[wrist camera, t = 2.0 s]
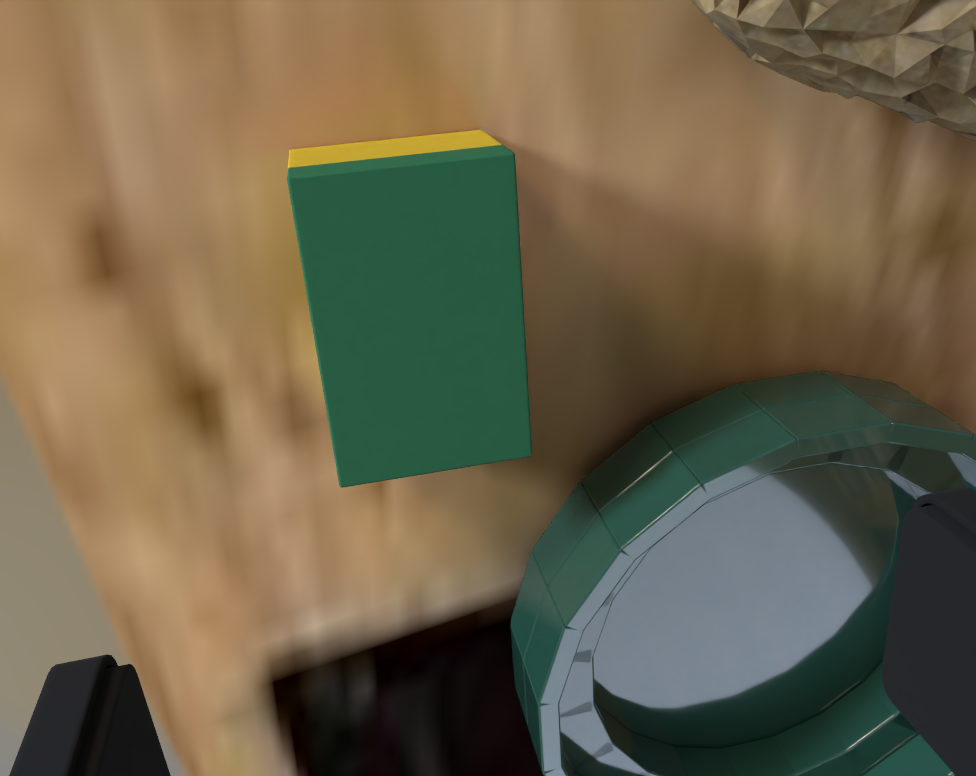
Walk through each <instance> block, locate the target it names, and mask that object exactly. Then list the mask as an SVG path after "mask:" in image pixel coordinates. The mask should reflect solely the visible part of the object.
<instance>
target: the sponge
mask: <svg viewBox="0 0 976 776" xmlns="http://www.w3.org/2000/svg"><path fill="white" fill-rule="evenodd" d="M692 2H693V3H694V4H695V5H696V6H697V7H698V8H699V9H700V11H701V12H702V13H703V14H704V15H705V16H706V17H707V18H708V19H709V20H710V21H711V22H712V23H713V25H714V26H715V27H716V28H717V29H718V30H719V32H720V33H721V34H723V35H724V36H725V37H726V38H727V39H728V40H729V41H731V42H732V43H733V44H734V45H735V46H736V47H738V48H739V49H740V50H741V51H742V52H743V53H744V54H746V55H747V56H748V57H749V58H750V59H752V60H754V61H756V62H758V63H760V64H762V65H764V66H766V67H768V68H770V69H772V70H774V71H776V72H778V73H780V74H782V75H784V76H787V77H789V78H791V79H794V80H796V81H798V82H801V83H803V84H806V85H808V86H810V87H813V88H815V89H817V90H820V91H824V92H833V93H837V94H839V95H841V96H843V97H845V98H846V99H850V98H852V97H854V96H860V97H863V98H865V99H867V100H870V101H872V102H875V103H877V104H879V105H882V106H884V107H887V108H889V109H892V110H894V111H896V112H899V113H901V114H902V115H904V116H906V117H907V118H909V119H911V120H912V121H914V122H916V123H919V122H923V121H927V120H929V121H931V122H933V123H936V124H938V125H940V126H943V127H945V128H947V129H950V130H952V131H954V132H956V133H958V134H960V135H962V136H964V137H966V138H968V139H970V140H974V141H976V0H692Z"/></svg>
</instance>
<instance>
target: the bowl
mask: <svg viewBox="0 0 976 776" xmlns="http://www.w3.org/2000/svg"><path fill="white" fill-rule="evenodd" d="M961 487H963V488H970V489H972V490H974V491H976V435H975V434H974V433H972V432H971V431H969V430H967V429H966V428H964V427H963V426H961V425H960V424H958V423H956V422H955V421H953V420H952V419H950V418H949V417H947V416H945V415H944V414H942V413H941V412H939V411H937V410H936V409H934V408H933V407H931V406H930V405H928V404H926V403H925V402H923V401H922V400H920V399H918V398H917V397H915V396H914V395H912V394H910V393H909V392H907V391H906V390H904V389H903V388H901V387H899V386H898V385H896V384H894V383H890V382H884V381H879V380H873V379H867V378H861V377H855V376H849V375H843V374H837V373H832V372H826V371H819V372H818V371H813V372H807V373H800V374H794V375H788V376H781V377H775V378H769V379H762V380H756V381H750V382H743V383H737V384H735V385H730V386H728V387H726V388H723V389H721V390H719V391H717V392H715V393H713V394H710V395H708V396H706V397H704V398H702V399H700V400H698V401H695V402H693V403H691V404H689V405H687V406H685V407H682V408H680V409H678V410H676V411H674V412H672V413H670V414H667V415H665V416H663V417H661V418H659V419H657V420H654V421H653V422H652V424H648V425H647V426H646V427H645V428H643V429H642V430H641V431H640V432H639V433H637V434H636V435H635V436H634V437H633V438H631V439H630V440H629V441H628V442H627V443H625V444H624V445H623V446H622V447H621V448H619V449H618V450H617V451H616V452H615V453H613V454H612V455H611V456H610V457H609V458H607V459H606V460H605V461H604V462H603V463H601V464H600V465H599V466H598V467H597V468H595V469H594V470H593V471H592V472H591V473H589V474H588V475H587V476H586V477H585V478H583V479H582V482H579V483H578V485H577V486H576V488H575V489H574V491H573V492H572V493H571V495H570V496H569V498H568V499H567V501H566V502H565V504H564V505H563V506H562V508H561V509H560V511H559V512H558V514H557V515H556V517H555V518H554V520H553V521H552V522H551V524H550V525H549V527H548V528H547V530H546V531H545V533H544V534H543V535H542V537H541V538H540V540H539V541H538V543H537V544H536V546H535V547H534V549H533V551H532V552H531V555H530V558H529V562H528V565H527V568H526V571H525V575H524V578H523V581H522V585H521V588H520V591H519V595H518V598H517V601H516V605H515V608H514V611H513V615H512V618H511V639H512V652H513V665H514V678H515V687H516V690H517V694H518V697H519V700H520V703H521V706H522V709H523V713H524V716H525V719H526V722H527V725H528V729H529V732H530V735H531V738H532V741H533V745H534V748H535V751H536V754H537V757H538V761H539V764H540V767H541V770H542V773H543V775H544V776H955V774H954V773H953V772H952V771H951V770H950V769H949V767H948V766H947V765H946V764H945V763H944V762H943V761H942V759H941V758H940V757H939V756H938V755H937V754H936V753H935V751H934V750H933V749H932V748H931V747H930V746H929V745H928V743H927V742H926V741H925V740H924V739H923V738H922V737H921V735H920V734H919V733H918V732H917V731H916V730H915V728H914V727H913V726H912V725H911V724H910V723H909V722H908V720H907V719H906V718H905V717H904V716H903V715H902V714H901V712H900V711H899V710H898V709H897V708H896V707H895V706H894V704H893V703H892V702H891V700H890V699H889V697H888V695H887V693H886V691H885V689H884V686H883V682H882V677H881V675H882V664H883V657H884V650H885V643H886V636H887V630H888V623H889V616H890V609H891V602H892V595H893V588H894V581H895V574H896V567H897V560H898V553H899V546H900V540H901V533H902V526H903V520H904V516H905V514H906V513H907V512H908V511H909V510H911V509H912V508H913V504H914V502H915V501H916V500H917V498H918V497H920V496H922V495H925V494H930V493H935V492H940V491H946V490H951V489H956V488H961Z"/></svg>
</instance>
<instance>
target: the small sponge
mask: <svg viewBox="0 0 976 776" xmlns="http://www.w3.org/2000/svg"><path fill="white" fill-rule="evenodd" d="M287 181H288V187H289V193H290V199H291V205H292V211H293V216H294V222H295V228H296V234H297V240H298V246H299V251H300V257H301V263H302V269H303V275H304V281H305V287H306V292H307V298H308V304H309V310H310V316H311V322H312V327H313V333H314V339H315V345H316V351H317V357H318V363H319V368H320V374H321V380H322V386H323V392H324V398H325V404H326V409H327V415H328V421H329V427H330V433H331V439H332V444H333V450H334V456H335V462H336V468H337V474H338V480H339V485H340V487H348V486H354V485H360V484H366V483H373V482H379V481H385V480H391V479H397V478H403V477H409V476H415V475H421V474H427V473H433V472H439V471H445V470H451V469H457V468H463V467H470V466H476V465H482V464H488V463H494V462H500V461H506V460H512V459H518V458H524V457H530V456H531V455H532V446H531V428H530V410H529V393H528V375H527V358H526V340H525V323H524V305H523V288H522V270H521V253H520V235H519V218H518V200H517V183H516V165H515V154H514V152H512V151H511V150H509V149H508V148H506V147H505V146H503V145H502V144H501V143H499V142H498V141H497V140H495V139H494V138H492V137H491V136H489V135H488V134H486V133H485V132H483V131H482V130H473V131H463V132H454V133H444V134H434V135H425V136H415V137H406V138H396V139H387V140H377V141H367V142H358V143H348V144H339V145H329V146H320V147H310V148H300V149H291V150H290V151H289V162H288V176H287Z"/></svg>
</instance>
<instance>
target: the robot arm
mask: <svg viewBox="0 0 976 776" xmlns="http://www.w3.org/2000/svg"><path fill="white" fill-rule="evenodd" d="M881 677H882V682H883V686H884V689H885V691H886V693H887V695H888V697H889V699H890V700H891V702H892V703H893V704H894V706H895V707H896V708H897V709H898V710H899V711H900V712H901V714H902V715H903V716H904V717H905V718H906V719H907V720H908V722H909V723H910V724H911V725H912V726H913V727H914V728H915V730H916V731H917V732H918V733H919V734H920V735H921V737H922V738H923V739H924V740H925V741H926V742H927V743H928V745H929V746H930V747H931V748H932V749H933V750H934V751H935V753H936V754H937V755H938V756H939V757H940V758H941V759H942V761H943V762H944V763H945V764H946V765H947V766H948V767H949V769H950V770H951V771H952V772H953V773H954V774H955V776H976V491H974V490H972V489H970V488H963V487H961V488H956V489H951V490H946V491H940V492H935V493H930V494H925V495H922V496H920V497H918V498H917V500H916V501H915V502H914V504H913V508H912V509H911V510H909V511H908V512H907V513H906V514H905V516H904V520H903V526H902V533H901V540H900V546H899V553H898V560H897V567H896V574H895V581H894V588H893V595H892V602H891V609H890V616H889V623H888V630H887V636H886V643H885V650H884V657H883V664H882V675H881ZM9 776H170V773H169V770H168V767H167V764H166V761H165V758H164V755H163V752H162V748H161V745H160V742H159V739H158V736H157V733H156V730H155V727H154V724H153V721H152V718H151V715H150V712H149V709H148V706H147V703H146V700H145V696H144V693H143V690H142V687H141V684H140V681H139V678H138V675H137V673H136V670H135V668H134V667H133V665H131V664H127V665H122V666H118V665H117V663H116V660H115V659H114V658H113V657H112V655H103V656H98V657H93V658H88V659H83V660H77V661H72V662H67V663H62V664H57V665H55V666H53V667H52V668H51V670H50V672H49V673H48V675H47V678H46V680H45V683H44V686H43V688H42V691H41V694H40V696H39V699H38V702H37V704H36V707H35V710H34V712H33V715H32V718H31V720H30V723H29V725H28V728H27V731H26V733H25V736H24V739H23V741H22V744H21V746H20V749H19V752H18V755H17V757H16V760H15V762H14V765H13V767H12V770H11V773H10V775H9Z"/></svg>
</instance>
